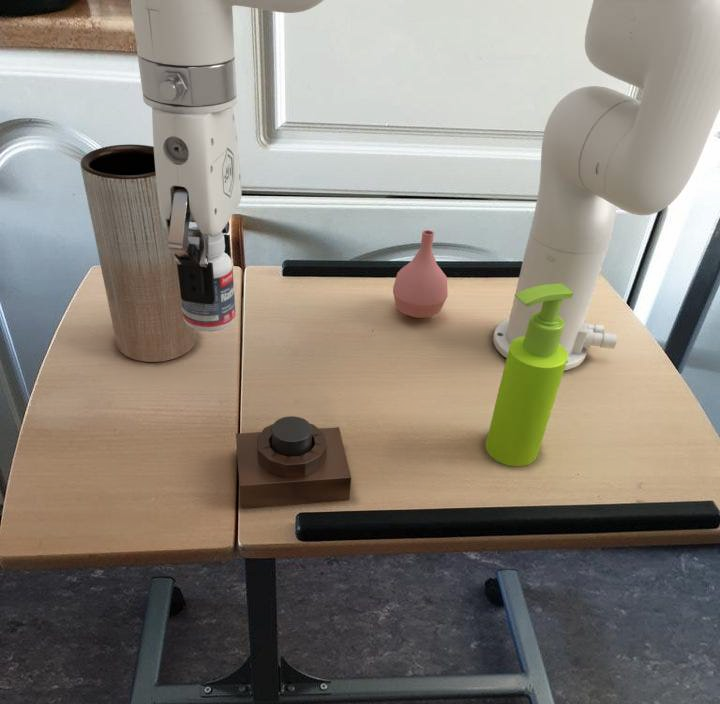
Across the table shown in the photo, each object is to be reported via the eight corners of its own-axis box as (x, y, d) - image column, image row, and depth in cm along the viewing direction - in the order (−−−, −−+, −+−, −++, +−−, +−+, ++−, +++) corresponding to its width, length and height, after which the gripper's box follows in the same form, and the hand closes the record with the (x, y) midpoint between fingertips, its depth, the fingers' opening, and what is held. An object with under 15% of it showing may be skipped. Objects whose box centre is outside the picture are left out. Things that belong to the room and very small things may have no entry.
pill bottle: (231, 334, 70) (225, 250, 64) (178, 331, 70) (167, 245, 64) (239, 307, 74) (234, 225, 68) (189, 304, 74) (180, 221, 67)
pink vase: (385, 322, 98) (393, 239, 90) (396, 296, 104) (404, 216, 96) (439, 332, 97) (453, 249, 89) (447, 305, 103) (461, 225, 95)
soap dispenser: (468, 440, 80) (503, 279, 67) (519, 428, 83) (563, 270, 69) (494, 473, 77) (538, 309, 63) (547, 459, 79) (600, 298, 65)
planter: (198, 360, 88) (177, 176, 73) (115, 365, 87) (75, 177, 71) (195, 319, 96) (175, 143, 80) (118, 323, 94) (83, 143, 78)
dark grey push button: (309, 430, 73) (309, 414, 71) (314, 456, 70) (314, 440, 68) (270, 432, 72) (269, 417, 71) (273, 458, 69) (273, 442, 68)
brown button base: (337, 449, 78) (339, 413, 74) (349, 500, 72) (352, 464, 69) (237, 456, 76) (234, 419, 73) (241, 508, 70) (238, 472, 67)
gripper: (204, 117, 50) (221, 336, 63) (258, 60, 63) (264, 252, 75) (102, 106, 51) (139, 326, 63) (176, 51, 63) (195, 244, 76)
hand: (207, 284), depth 69 cm, fingers closed on pill bottle, 5 cm apart
